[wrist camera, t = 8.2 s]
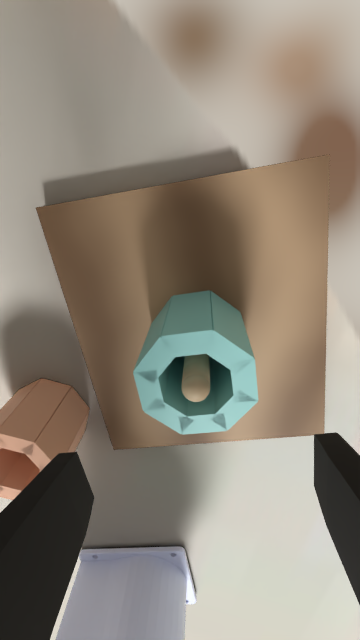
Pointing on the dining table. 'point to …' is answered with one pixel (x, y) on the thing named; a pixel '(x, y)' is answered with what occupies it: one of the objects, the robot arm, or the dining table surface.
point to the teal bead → (193, 339)
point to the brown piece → (202, 289)
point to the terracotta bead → (37, 431)
